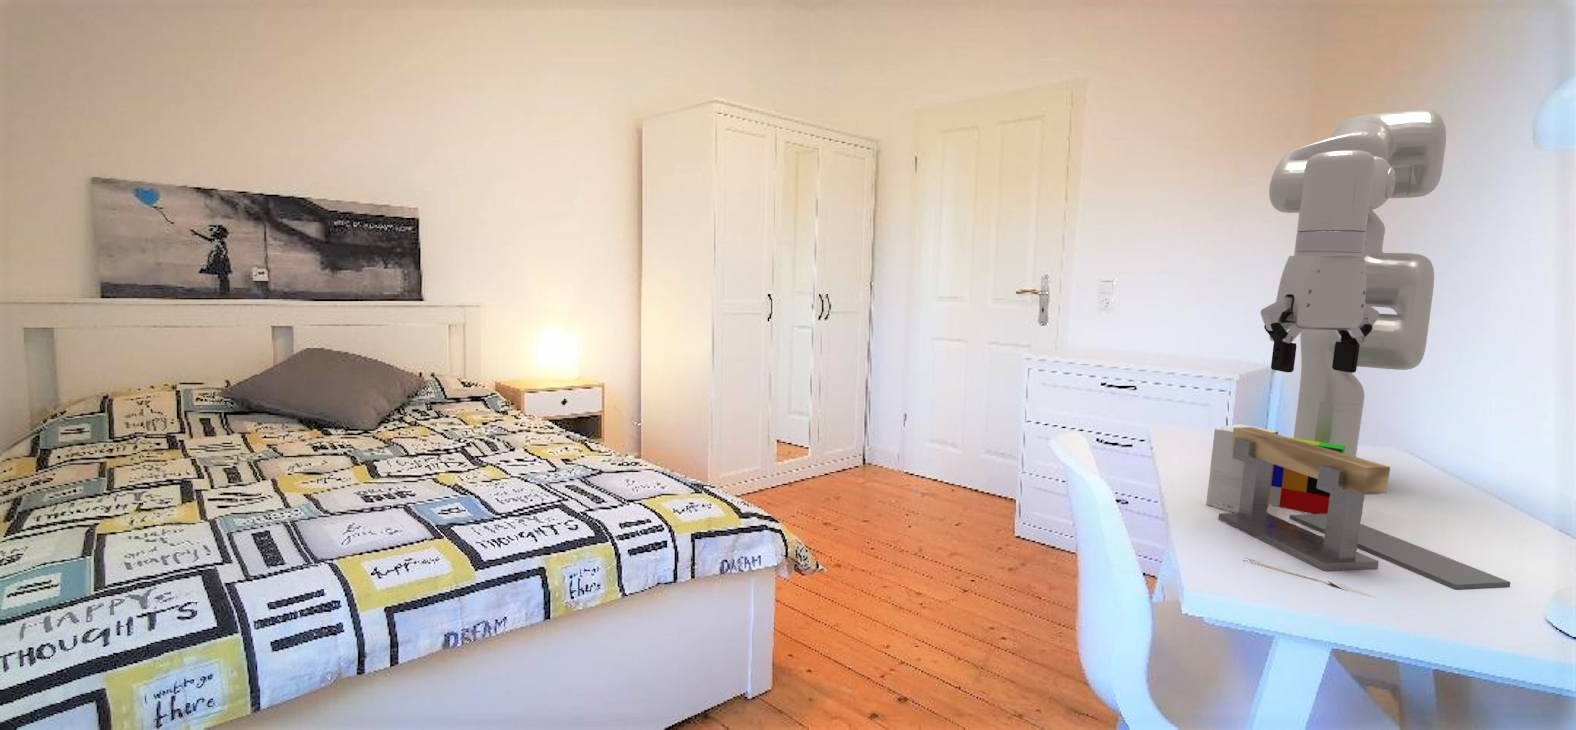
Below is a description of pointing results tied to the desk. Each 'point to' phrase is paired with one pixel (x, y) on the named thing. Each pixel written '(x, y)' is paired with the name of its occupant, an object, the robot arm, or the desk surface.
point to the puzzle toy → (1300, 487)
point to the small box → (1227, 471)
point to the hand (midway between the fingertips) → (1312, 371)
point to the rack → (1294, 540)
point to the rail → (1315, 460)
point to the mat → (1413, 557)
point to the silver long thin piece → (1306, 576)
